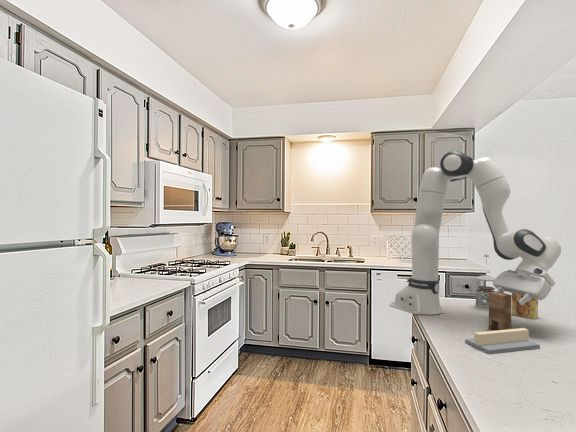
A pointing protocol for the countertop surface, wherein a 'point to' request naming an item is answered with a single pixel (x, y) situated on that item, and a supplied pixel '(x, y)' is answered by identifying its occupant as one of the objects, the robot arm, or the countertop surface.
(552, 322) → the countertop surface
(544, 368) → the countertop surface
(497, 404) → the countertop surface
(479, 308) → the french press
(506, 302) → the walnut block
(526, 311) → the candy box
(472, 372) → the countertop surface
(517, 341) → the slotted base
